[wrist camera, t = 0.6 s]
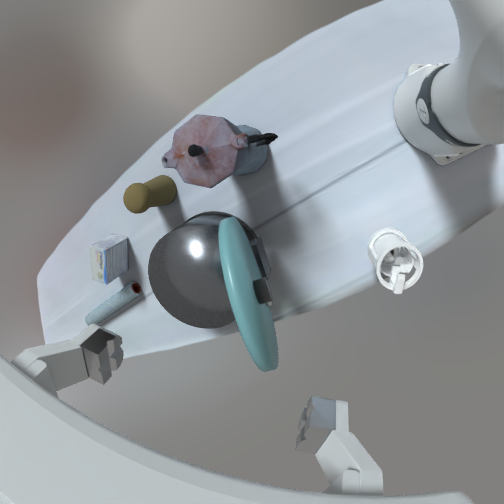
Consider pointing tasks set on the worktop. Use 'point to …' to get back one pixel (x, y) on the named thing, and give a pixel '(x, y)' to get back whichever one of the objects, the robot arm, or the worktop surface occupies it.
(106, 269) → the medicine box
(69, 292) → the worktop surface
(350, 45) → the worktop surface
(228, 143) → the moka pot
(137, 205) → the cork
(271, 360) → the lid
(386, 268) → the white hollow cylindrical part
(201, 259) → the grey metal pot
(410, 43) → the worktop surface
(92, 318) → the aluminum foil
